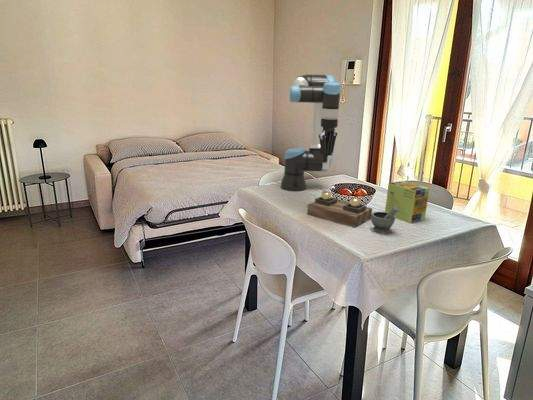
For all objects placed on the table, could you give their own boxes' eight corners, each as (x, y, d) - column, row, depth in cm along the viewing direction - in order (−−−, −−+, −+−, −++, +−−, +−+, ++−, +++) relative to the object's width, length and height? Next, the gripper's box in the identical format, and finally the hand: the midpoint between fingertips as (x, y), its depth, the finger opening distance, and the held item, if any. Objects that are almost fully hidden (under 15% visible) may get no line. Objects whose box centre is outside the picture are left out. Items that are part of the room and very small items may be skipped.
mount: (324, 206, 191) (325, 193, 189) (371, 218, 176) (372, 204, 174) (307, 214, 179) (308, 200, 177) (355, 227, 164) (356, 212, 162)
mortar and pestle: (365, 229, 162) (368, 203, 159) (377, 224, 169) (380, 199, 165) (389, 237, 155) (392, 209, 151) (400, 232, 161) (404, 205, 157)
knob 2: (352, 207, 175) (353, 197, 173) (361, 209, 172) (362, 199, 170) (347, 209, 171) (348, 199, 170) (356, 211, 169) (357, 201, 167)
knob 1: (324, 200, 184) (325, 190, 182) (332, 202, 181) (333, 192, 179) (319, 202, 180) (320, 192, 179) (327, 204, 178) (328, 194, 176)
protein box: (411, 223, 171) (416, 190, 167) (384, 213, 183) (388, 182, 179) (425, 219, 177) (430, 187, 172) (398, 210, 189) (402, 180, 184)
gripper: (329, 116, 178) (325, 165, 185) (314, 118, 168) (311, 170, 176) (343, 117, 173) (339, 168, 181) (329, 120, 164) (325, 172, 171)
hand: (325, 168), depth 178 cm, fingers closed
